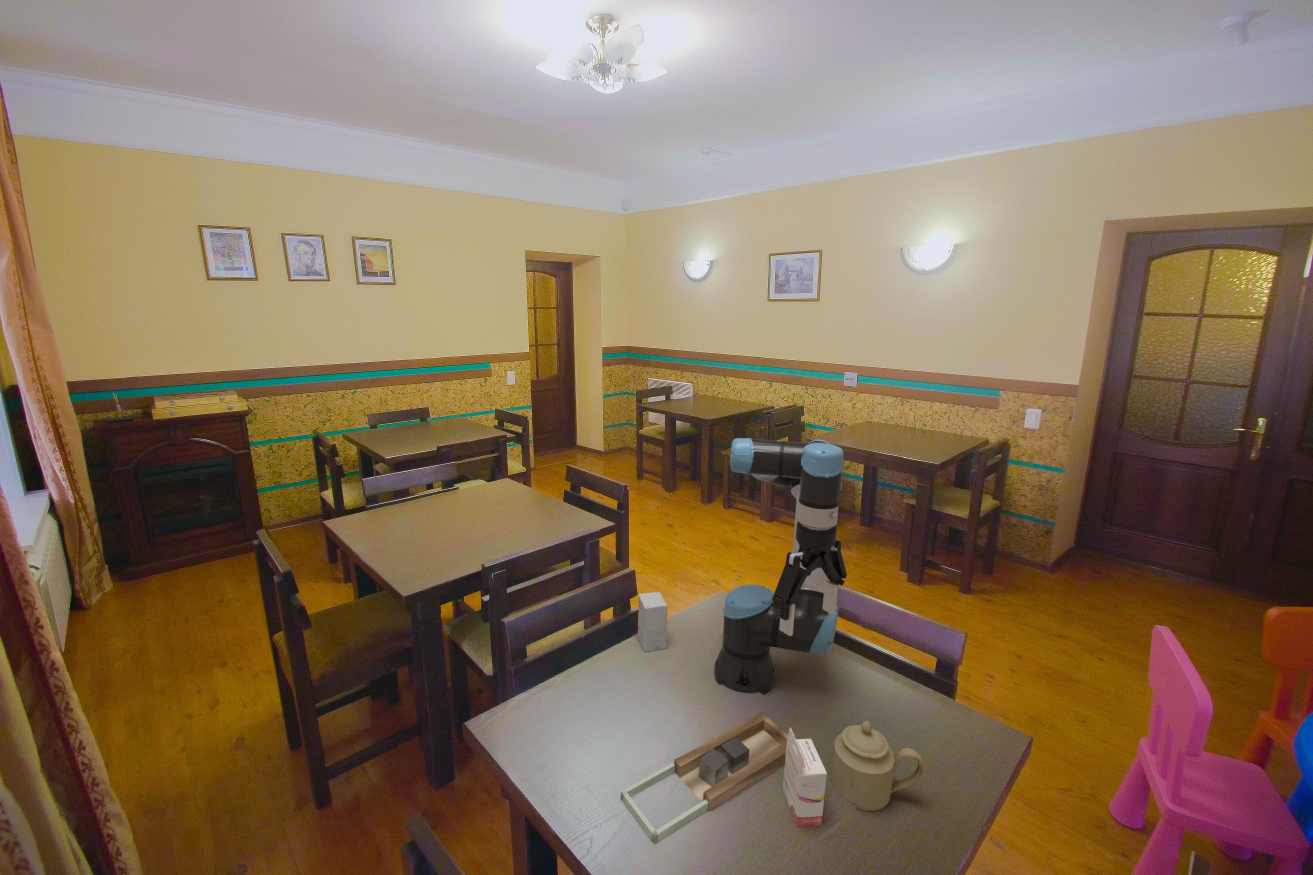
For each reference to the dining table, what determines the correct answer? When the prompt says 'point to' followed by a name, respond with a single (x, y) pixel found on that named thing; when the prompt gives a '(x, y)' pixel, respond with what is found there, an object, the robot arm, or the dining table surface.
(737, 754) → the chip
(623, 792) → the tray
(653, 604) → the small box
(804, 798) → the ink cartridge box
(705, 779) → the chip
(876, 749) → the sugar bowl
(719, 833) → the dining table surface
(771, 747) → the slot board
